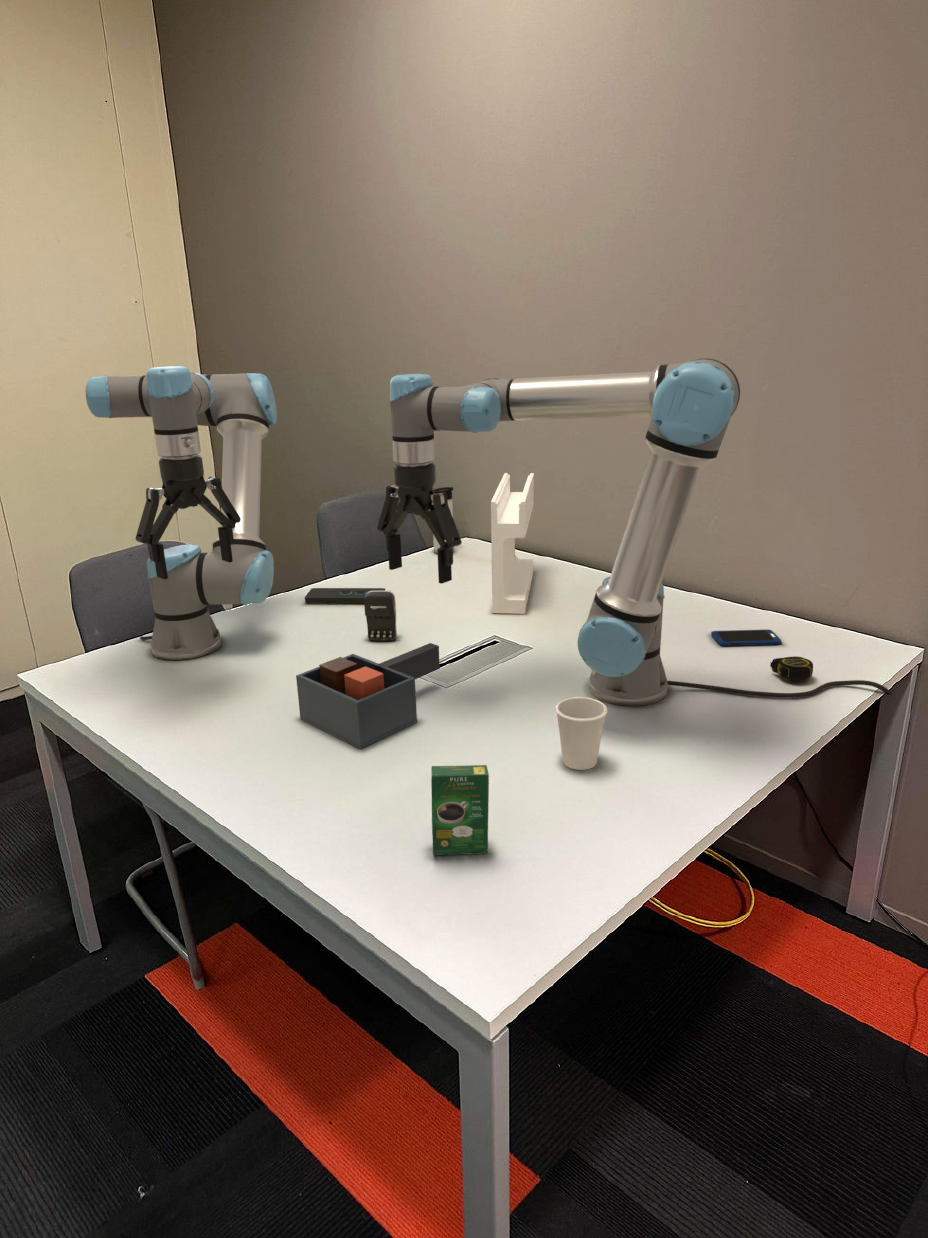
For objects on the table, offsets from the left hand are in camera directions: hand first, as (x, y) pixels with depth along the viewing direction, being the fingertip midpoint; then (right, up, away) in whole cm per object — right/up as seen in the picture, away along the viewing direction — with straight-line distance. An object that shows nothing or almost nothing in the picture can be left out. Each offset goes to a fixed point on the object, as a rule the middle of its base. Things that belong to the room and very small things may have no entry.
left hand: (195, 569), depth 161 cm
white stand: (+64, -2, +66) cm, 92 cm away
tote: (+36, -27, +3) cm, 44 cm away
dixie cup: (+70, -33, -18) cm, 80 cm away
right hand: (+42, -1, +1) cm, 42 cm away
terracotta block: (+33, -29, -5) cm, 44 cm away
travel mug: (+45, +11, +103) cm, 113 cm away
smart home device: (+20, -4, +63) cm, 66 cm away
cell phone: (+114, -14, +31) cm, 119 cm away
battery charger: (+32, -14, +36) cm, 50 cm away
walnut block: (+28, -27, 0) cm, 39 cm away
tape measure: (+117, -21, +11) cm, 119 cm away
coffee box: (+50, -42, -40) cm, 77 cm away
